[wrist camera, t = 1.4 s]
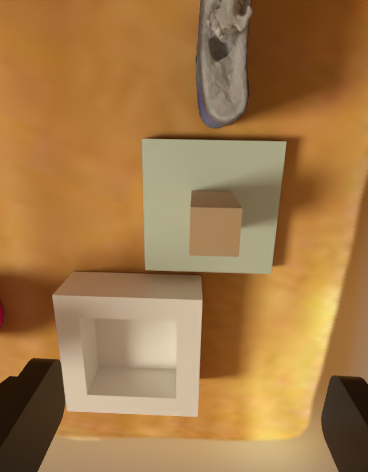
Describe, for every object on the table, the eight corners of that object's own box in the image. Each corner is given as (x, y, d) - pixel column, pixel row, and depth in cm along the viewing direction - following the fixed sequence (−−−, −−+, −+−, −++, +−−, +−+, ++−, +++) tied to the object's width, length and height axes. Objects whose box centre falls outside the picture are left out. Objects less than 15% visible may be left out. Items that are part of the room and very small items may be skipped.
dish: (73, 271, 29) (52, 295, 24) (201, 275, 28) (202, 300, 24) (84, 374, 32) (67, 411, 28) (197, 379, 32) (197, 416, 28)
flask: (229, 129, 24) (252, 123, 14) (192, 127, 24) (189, 120, 14) (241, -10, 22) (282, -142, 11) (199, -12, 22) (202, -144, 11)
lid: (143, 138, 24) (124, 139, 18) (282, 141, 24) (316, 143, 17) (146, 265, 28) (131, 306, 21) (268, 269, 27) (291, 311, 21)
